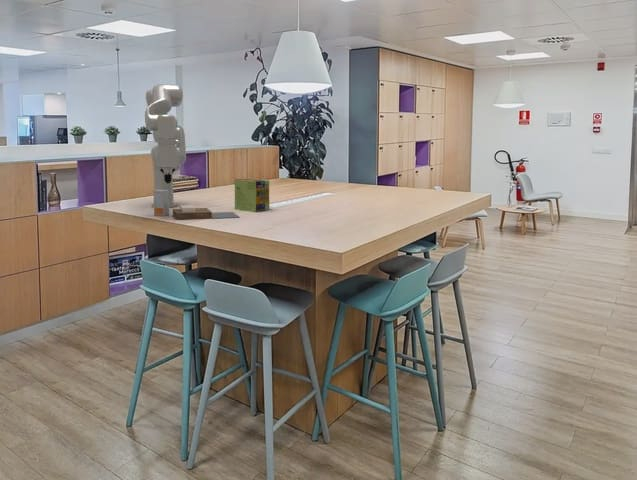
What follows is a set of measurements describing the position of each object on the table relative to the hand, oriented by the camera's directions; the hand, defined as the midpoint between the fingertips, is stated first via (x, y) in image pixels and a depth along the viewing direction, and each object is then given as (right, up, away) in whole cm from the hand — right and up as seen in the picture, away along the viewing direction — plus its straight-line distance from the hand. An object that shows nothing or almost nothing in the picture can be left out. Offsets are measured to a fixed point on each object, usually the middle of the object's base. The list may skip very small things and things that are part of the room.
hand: (168, 183), depth 255 cm
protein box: (+35, -11, +34) cm, 49 cm away
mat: (+23, -14, +12) cm, 30 cm away
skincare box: (-6, -14, +11) cm, 19 cm away
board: (+9, -15, +7) cm, 19 cm away
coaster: (+8, -12, +6) cm, 16 cm away
